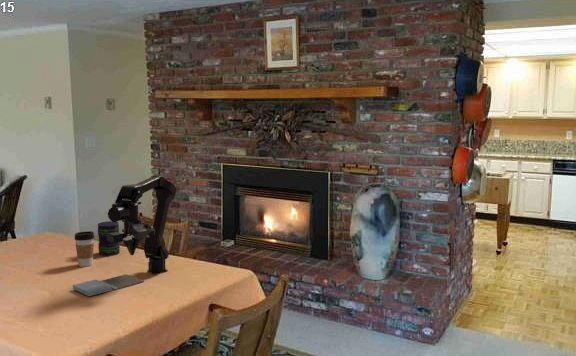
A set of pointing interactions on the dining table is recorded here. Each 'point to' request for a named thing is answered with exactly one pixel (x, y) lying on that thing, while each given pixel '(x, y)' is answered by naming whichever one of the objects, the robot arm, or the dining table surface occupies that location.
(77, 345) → the dining table surface
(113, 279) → the plate
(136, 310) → the dining table surface
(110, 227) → the storage jar
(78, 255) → the coffee cup
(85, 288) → the grey rectangular slab
